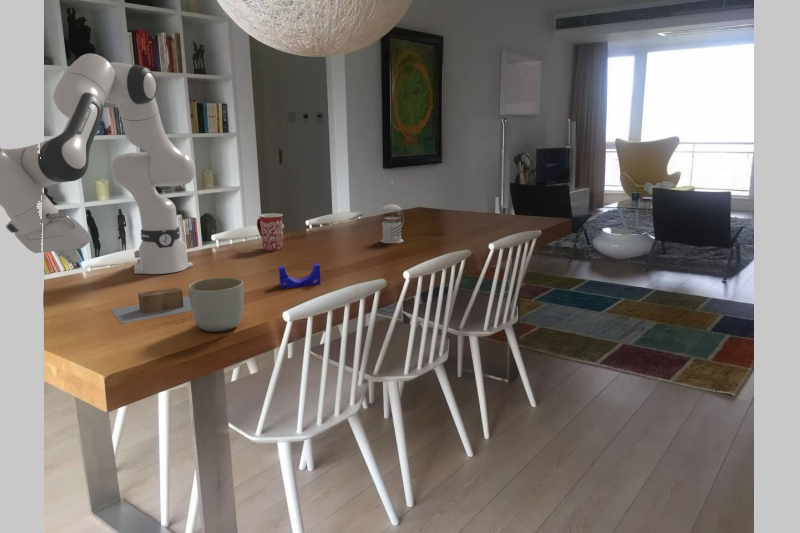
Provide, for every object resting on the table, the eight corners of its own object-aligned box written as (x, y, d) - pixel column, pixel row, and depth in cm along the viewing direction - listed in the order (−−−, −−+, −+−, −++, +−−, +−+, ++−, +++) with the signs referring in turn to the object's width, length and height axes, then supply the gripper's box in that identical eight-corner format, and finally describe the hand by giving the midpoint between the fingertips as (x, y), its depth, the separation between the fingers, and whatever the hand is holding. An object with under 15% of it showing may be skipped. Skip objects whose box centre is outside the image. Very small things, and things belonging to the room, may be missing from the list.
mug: (289, 248, 231) (287, 214, 228) (270, 252, 224) (268, 217, 221) (269, 244, 239) (267, 211, 236) (251, 248, 232) (248, 214, 229)
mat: (110, 310, 154) (110, 309, 154) (195, 296, 167) (195, 295, 166) (120, 324, 143) (120, 323, 143) (210, 308, 155) (210, 307, 155)
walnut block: (137, 292, 153) (177, 286, 158) (139, 309, 154) (179, 302, 159) (141, 296, 149) (182, 290, 155) (143, 313, 150) (183, 306, 156)
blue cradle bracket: (281, 289, 174) (280, 269, 173) (279, 285, 179) (278, 266, 177) (321, 285, 178) (320, 266, 176) (319, 282, 182) (318, 263, 180)
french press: (375, 241, 244) (374, 180, 238) (393, 237, 253) (392, 178, 247) (393, 244, 238) (392, 182, 232) (411, 239, 247) (411, 180, 241)
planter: (248, 332, 137) (245, 287, 135) (192, 339, 133) (188, 293, 131) (243, 316, 149) (240, 275, 146) (191, 322, 145) (187, 279, 142)
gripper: (73, 203, 133) (111, 250, 140) (21, 212, 142) (59, 255, 150) (53, 220, 128) (93, 267, 136) (1, 228, 138) (41, 271, 146)
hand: (75, 261), depth 143 cm, fingers closed
